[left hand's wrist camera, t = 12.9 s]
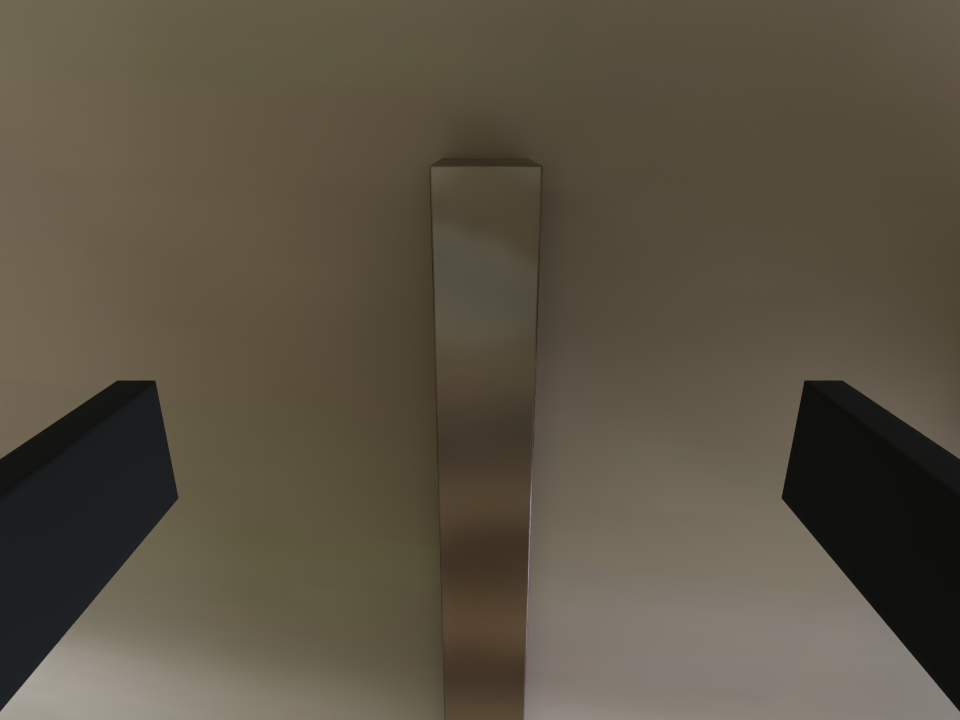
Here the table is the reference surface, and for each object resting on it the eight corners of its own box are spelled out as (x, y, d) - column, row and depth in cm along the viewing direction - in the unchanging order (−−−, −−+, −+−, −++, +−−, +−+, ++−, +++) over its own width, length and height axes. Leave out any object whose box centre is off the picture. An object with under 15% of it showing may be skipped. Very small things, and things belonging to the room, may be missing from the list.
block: (440, 158, 35) (429, 165, 27) (528, 158, 35) (542, 165, 27) (455, 852, 55) (451, 968, 47) (511, 852, 55) (516, 968, 47)
